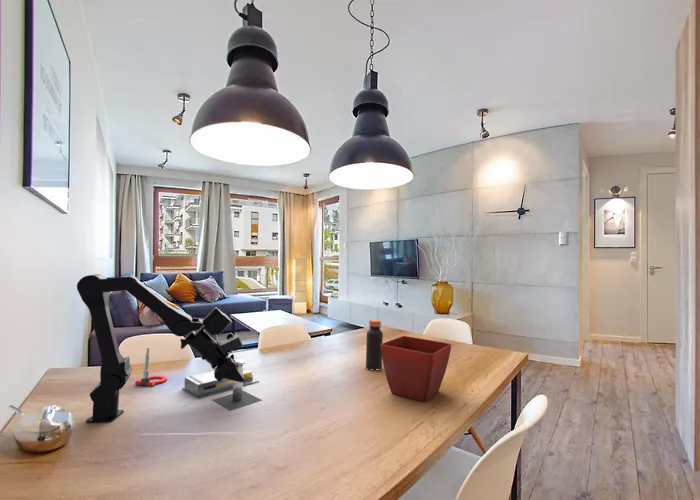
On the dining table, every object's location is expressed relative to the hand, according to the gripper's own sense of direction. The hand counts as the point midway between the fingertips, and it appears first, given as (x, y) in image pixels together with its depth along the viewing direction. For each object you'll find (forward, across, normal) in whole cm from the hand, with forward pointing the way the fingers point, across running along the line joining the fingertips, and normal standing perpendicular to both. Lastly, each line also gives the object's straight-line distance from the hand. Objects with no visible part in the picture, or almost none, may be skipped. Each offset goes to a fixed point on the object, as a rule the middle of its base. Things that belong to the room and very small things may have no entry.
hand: (242, 379), depth 109 cm
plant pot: (+45, -12, -35) cm, 58 cm away
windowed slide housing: (+1, +15, +8) cm, 17 cm away
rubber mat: (+4, 0, +6) cm, 7 cm away
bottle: (+44, +17, -34) cm, 58 cm away
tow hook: (-15, +27, +24) cm, 39 cm away
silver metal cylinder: (+3, 0, +5) cm, 6 cm away
